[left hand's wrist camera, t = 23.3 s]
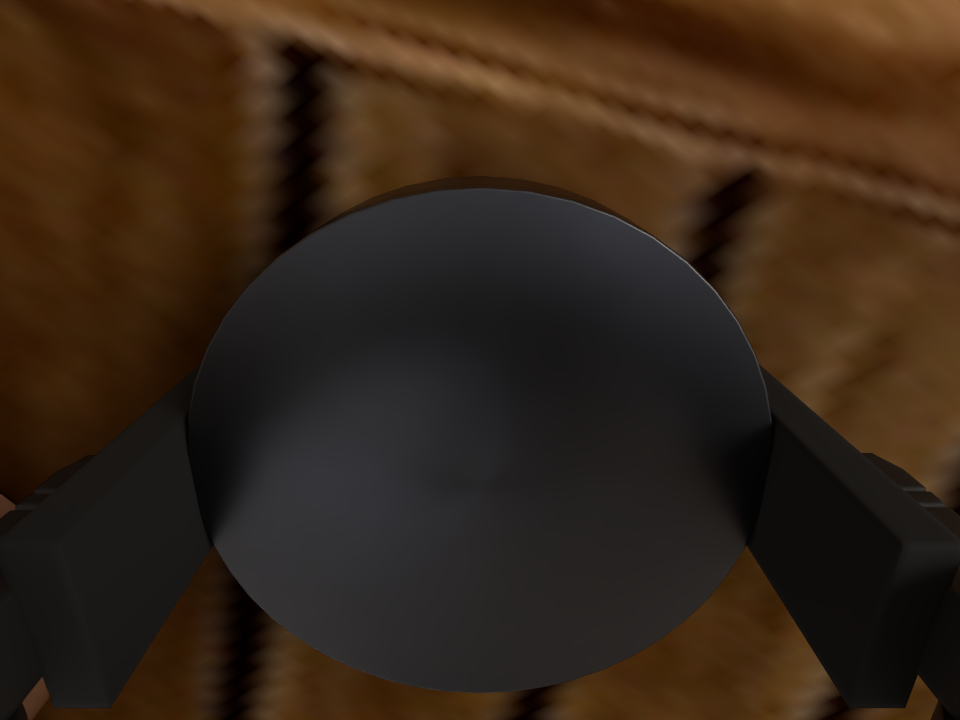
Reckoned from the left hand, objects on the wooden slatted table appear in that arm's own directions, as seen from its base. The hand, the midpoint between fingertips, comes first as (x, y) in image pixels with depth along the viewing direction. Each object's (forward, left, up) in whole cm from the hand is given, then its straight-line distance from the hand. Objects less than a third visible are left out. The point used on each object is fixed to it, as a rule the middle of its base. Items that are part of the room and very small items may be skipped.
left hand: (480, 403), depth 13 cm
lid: (0, 0, +3) cm, 3 cm away
